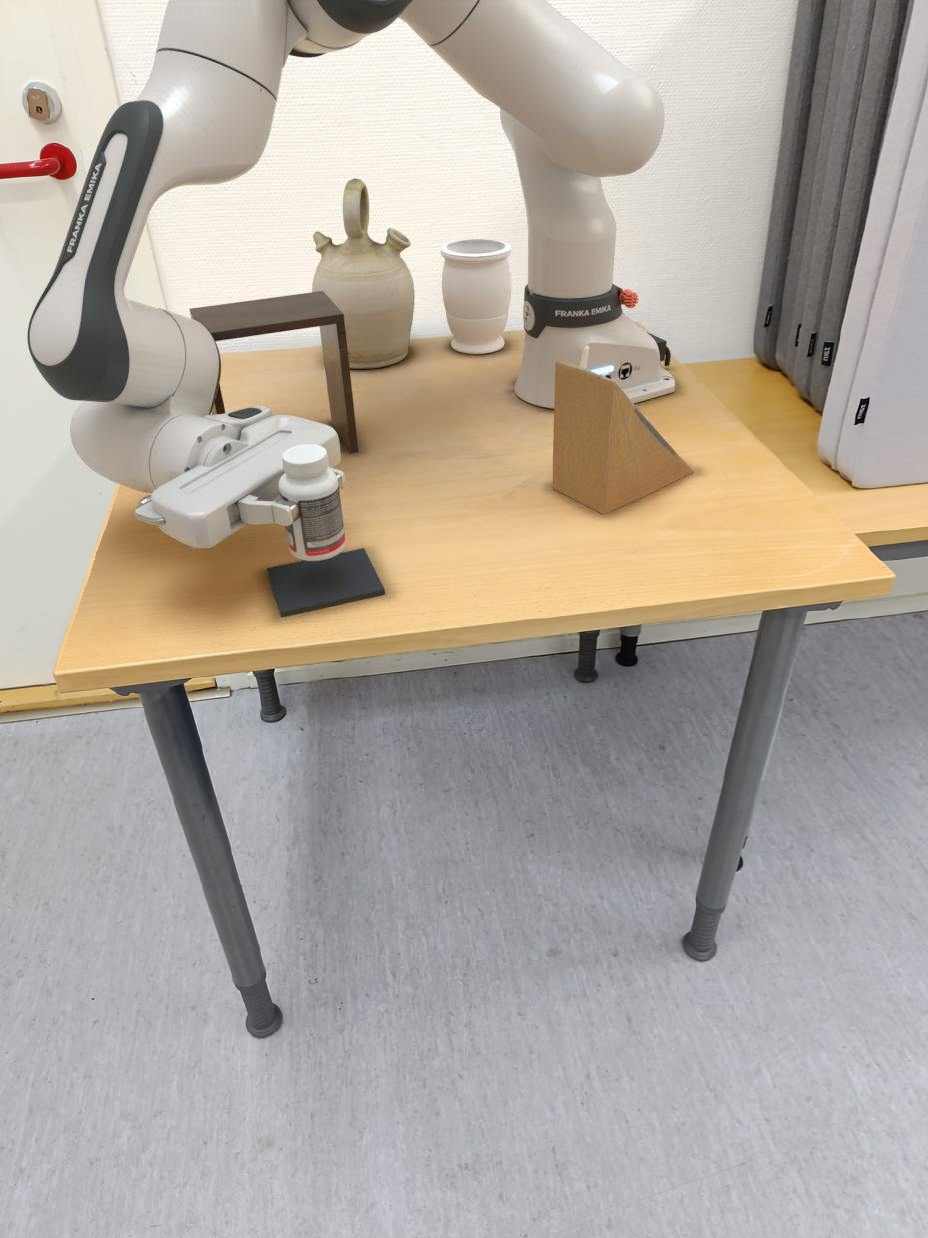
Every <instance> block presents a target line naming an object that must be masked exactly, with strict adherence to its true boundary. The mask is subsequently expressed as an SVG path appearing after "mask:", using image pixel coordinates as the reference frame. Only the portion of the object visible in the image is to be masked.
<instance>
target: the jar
mask: <svg viewBox="0 0 928 1238" xmlns="http://www.w3.org/2000/svg"><path fill="white" fill-rule="evenodd" d="M511 253H512V244H510V243H509V242H506V241H503V240H498V239H489V238H470V239H469V238H468V239H459V240H454V241H450V242H447V243H445V244H443V245H442V246H441V247H440V255H441V257H442V258H443V259H444V262H443V266H442V273H441V274H442V275H441V293H442V301H443V306H444V310H445V317H446V322H447V326H448V327H449V330H450V332H451V334H452V336H453V338H452V339H451V342H450V346H451V348H452V349H453V350H454V351H457V352H459V353H463V354H468V355H485V354H491V353H495V352H498V351H500V350H501V349H503V348H504V346H505V340H504V338H503V337H502V335H503V333H504V332H505V331H504V330H505V328H506V326H507V322H508V317H509V316H508V315H509V309H510V305H511V298H512V275H511V267H510V263H509V260H508V258H509V256H511Z"/></svg>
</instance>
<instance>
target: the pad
mask: <svg viewBox="0 0 928 1238" xmlns="http://www.w3.org/2000/svg"><path fill="white" fill-rule="evenodd" d="M266 572H267V576H268V578H269V579H268V580H269V582H270V585H271V589H272V591H273V595H274V598H275V602H276V604H277V608H278V610H279V614H280V617H282V618H283V617H287V616H288V617H289V616H291V615H297V614H300V613H305V612H310V611H314V610H319V609H325V608H328V607H332V606H336V605H337V606H338V605H342V604H346V603H350V602H354V601H359V600H363V599H369V598H372V597H378V596H383V595H385V594H386V589H385V587H384V585H383V583H382V581H381V579H380V577H379V574H378V573H377V571H376V569H375V567H374V565H373V563H372V561H371V559H370V557H369V555H368V553H367V551H366V549H365V547H362V548H357V549H352V550H348V551H343V552H342V551H341V552H340V553H339V554H337V555H336V556H334V557H332V558H329V559H325V560H319V561H306V560H298V561H295V562H289V563H285V564H284V563H283V564H280V565H275V566H270V567H266Z"/></svg>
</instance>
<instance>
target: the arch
mask: <svg viewBox="0 0 928 1238" xmlns="http://www.w3.org/2000/svg"><path fill="white" fill-rule="evenodd" d="M188 310H189V314H190V318H191V319H195V320H197V321H199V322H201V323H202V324H203V325H204V326H206V327H207V329H208V330H209V331H210V333H211V334H212V336H213V337H214V339H215V341H216V342H221V341H227V340H228V341H229V340H235V339H242V338H248V337H256V336H262V335H270V334H275V333H276V334H277V333H283V332H289V331H296V330H297V331H298V330H304V329H311V328H318V327H319V326H320V327H319V334H320V343H321V348H322V356H323V364H324V365H323V366H324V372H325V380H326V388H327V397H328V403H329V412H330V420H331V424H332V425H333V428H334V429H335V431H336V432H337V434H338V436H340V438H341V440H342V441H343V443H344V444H345V446H346V447H347V449H348V451H349V452H350V454H353V453H359V450H360V449H359V442H358V431H357V423H356V412H355V404H354V396H353V394H354V393H353V387H352V386H353V385H352V378H351V377H352V376H351V368H350V367H349V357H348V348H347V339H346V330H345V323H344V322H345V321H344V314H343V313H342V312H341V311H340V309H339V308H338V307H337V306H336V305H335V304H334V303H333V302H332V300H331V299H330V298H329V297H328V296H327V295H326V294H325V293H324V291H318V292H312V291H311V292H303V293H297V294H290V295H289V294H288V295H281V296H273V297H267V298H257V299H252V300H244V301H243V300H242V301H236V302H228V303H222V304H215V305H207V306H198V307H192V308H189V309H188ZM225 413H226V408H225V403H224V398H223V393H222V388H221V383H220V382H219V388H218V392H217V396H216V399H215V402H214V405H213V409H212V412H211V415H216V414H225Z"/></svg>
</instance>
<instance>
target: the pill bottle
mask: <svg viewBox="0 0 928 1238" xmlns="http://www.w3.org/2000/svg"><path fill="white" fill-rule="evenodd" d="M282 462H283V469H284V472H285V474H283V475H282V477H281V478H280V480H279V484H278V487H279V494H280V499H282V498H284V499H287V500H289V501H294V502H296V503H297V504H298V506H299V511H298V512H299V513H300V518H299V519H298V520H296V521H295V522H294V523H292V524H291V525H289V526H285V525H284V529H285V535H286V541H287V546H288V550H289V552H290V554H291V555H292V557H295V558H296V559H298V560H300V561H303V560H306V561H319V560H325V559H329V558H332V557H334V556H336V555H337V554H339V553H342V551H343V550H344V548H345V546H346V533H345V526H344V517H343V510H342V501H341V500H342V499H341V492H340V490H339V483H338V478H337V476H336V474H335V473H334V472H333V471H332V470H330V469H328V464H329V461H328V456H327V451H326V449H325V448H323V447H322V446H319V445H314V444H304V445H298V446H294V447H291V448H289V449H287V450H286V451H285V452H284V453H283V454H282Z"/></svg>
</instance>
